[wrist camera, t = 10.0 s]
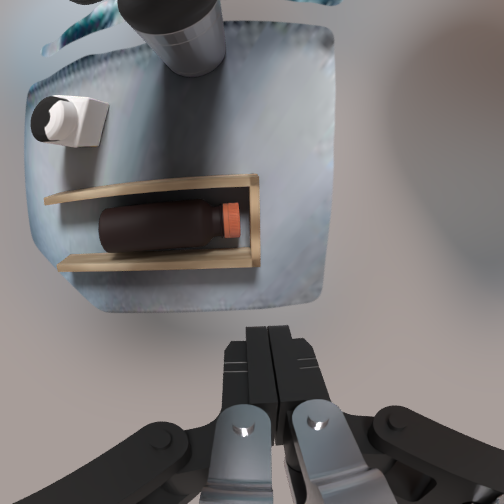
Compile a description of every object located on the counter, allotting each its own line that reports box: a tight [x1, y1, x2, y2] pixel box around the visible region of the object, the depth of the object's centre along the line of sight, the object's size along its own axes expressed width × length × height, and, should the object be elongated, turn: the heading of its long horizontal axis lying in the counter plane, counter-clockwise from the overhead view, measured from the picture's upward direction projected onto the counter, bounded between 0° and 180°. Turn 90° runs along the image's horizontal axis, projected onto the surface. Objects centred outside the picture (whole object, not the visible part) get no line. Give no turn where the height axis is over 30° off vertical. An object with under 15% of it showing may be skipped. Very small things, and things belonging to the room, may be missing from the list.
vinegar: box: [99, 199, 240, 253], centre depth 40 cm, size 7×7×20 cm
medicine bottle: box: [31, 95, 109, 148], centre depth 30 cm, size 7×7×12 cm
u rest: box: [44, 174, 260, 272], centre depth 40 cm, size 12×33×5 cm, turn 91°
